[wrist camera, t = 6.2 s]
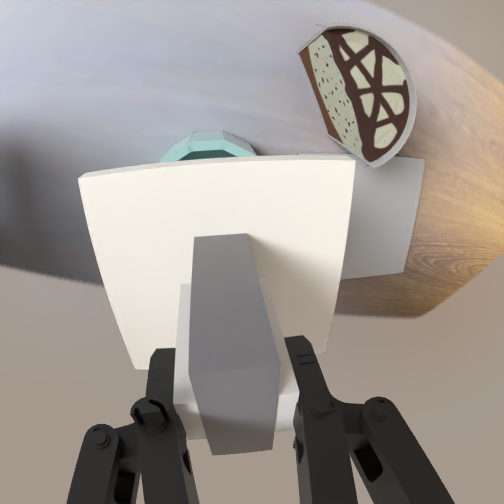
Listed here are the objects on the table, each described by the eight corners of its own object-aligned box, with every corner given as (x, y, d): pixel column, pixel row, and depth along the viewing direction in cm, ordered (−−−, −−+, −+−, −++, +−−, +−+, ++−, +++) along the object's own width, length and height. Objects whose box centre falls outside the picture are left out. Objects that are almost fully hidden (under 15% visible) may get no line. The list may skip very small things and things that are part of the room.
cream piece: (137, 358, 20) (123, 476, 12) (85, 172, 13) (-22, 275, 5) (321, 343, 21) (364, 452, 13) (347, 156, 15) (470, 238, 7)
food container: (379, 132, 30) (434, 152, 21) (331, 148, 31) (375, 175, 22) (345, 26, 24) (395, 8, 15) (290, 39, 25) (325, 19, 16)
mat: (291, 282, 38) (292, 284, 38) (298, 152, 31) (299, 153, 30) (401, 270, 40) (402, 272, 39) (423, 158, 32) (425, 159, 32)
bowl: (164, 235, 33) (156, 264, 28) (152, 136, 28) (138, 147, 23) (264, 228, 34) (273, 256, 29) (264, 128, 29) (275, 138, 24)
